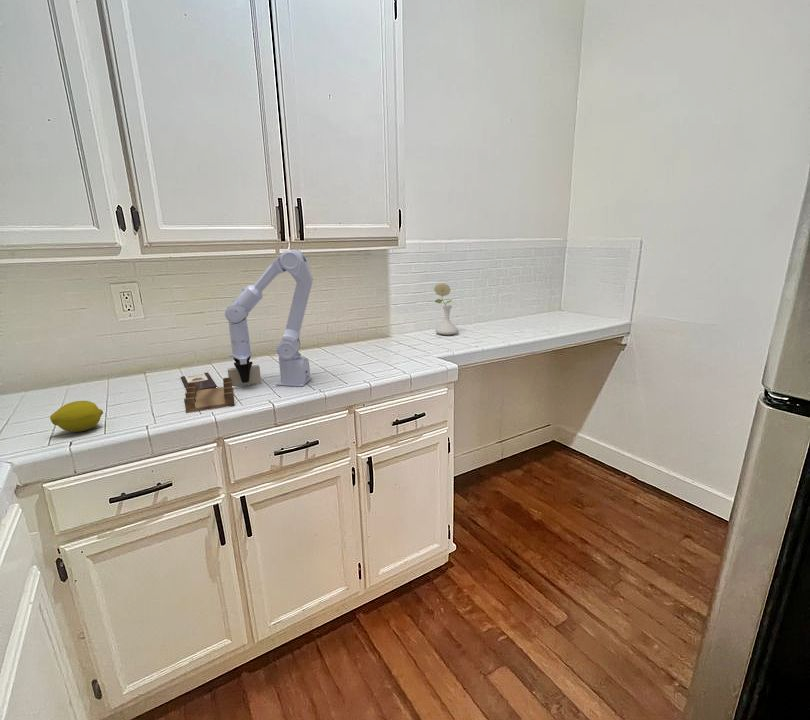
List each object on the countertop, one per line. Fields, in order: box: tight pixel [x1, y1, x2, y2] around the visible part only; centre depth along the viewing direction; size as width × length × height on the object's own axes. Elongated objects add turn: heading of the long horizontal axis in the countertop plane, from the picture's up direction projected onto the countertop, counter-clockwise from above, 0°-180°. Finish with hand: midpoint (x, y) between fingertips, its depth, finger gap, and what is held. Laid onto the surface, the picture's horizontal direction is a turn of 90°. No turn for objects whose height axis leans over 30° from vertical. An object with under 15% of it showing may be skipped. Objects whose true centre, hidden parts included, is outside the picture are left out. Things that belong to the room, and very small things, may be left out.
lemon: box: [49, 400, 104, 433], centre depth 113 cm, size 11×8×8 cm
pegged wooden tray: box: [183, 376, 236, 414], centre depth 133 cm, size 13×16×4 cm
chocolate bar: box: [180, 371, 218, 390], centre depth 150 cm, size 9×1×18 cm
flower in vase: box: [433, 282, 459, 336], centre depth 213 cm, size 13×11×25 cm
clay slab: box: [227, 364, 262, 387], centre depth 147 cm, size 10×2×6 cm, turn 113°
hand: (244, 379), depth 147 cm, fingers open, 6 cm apart
